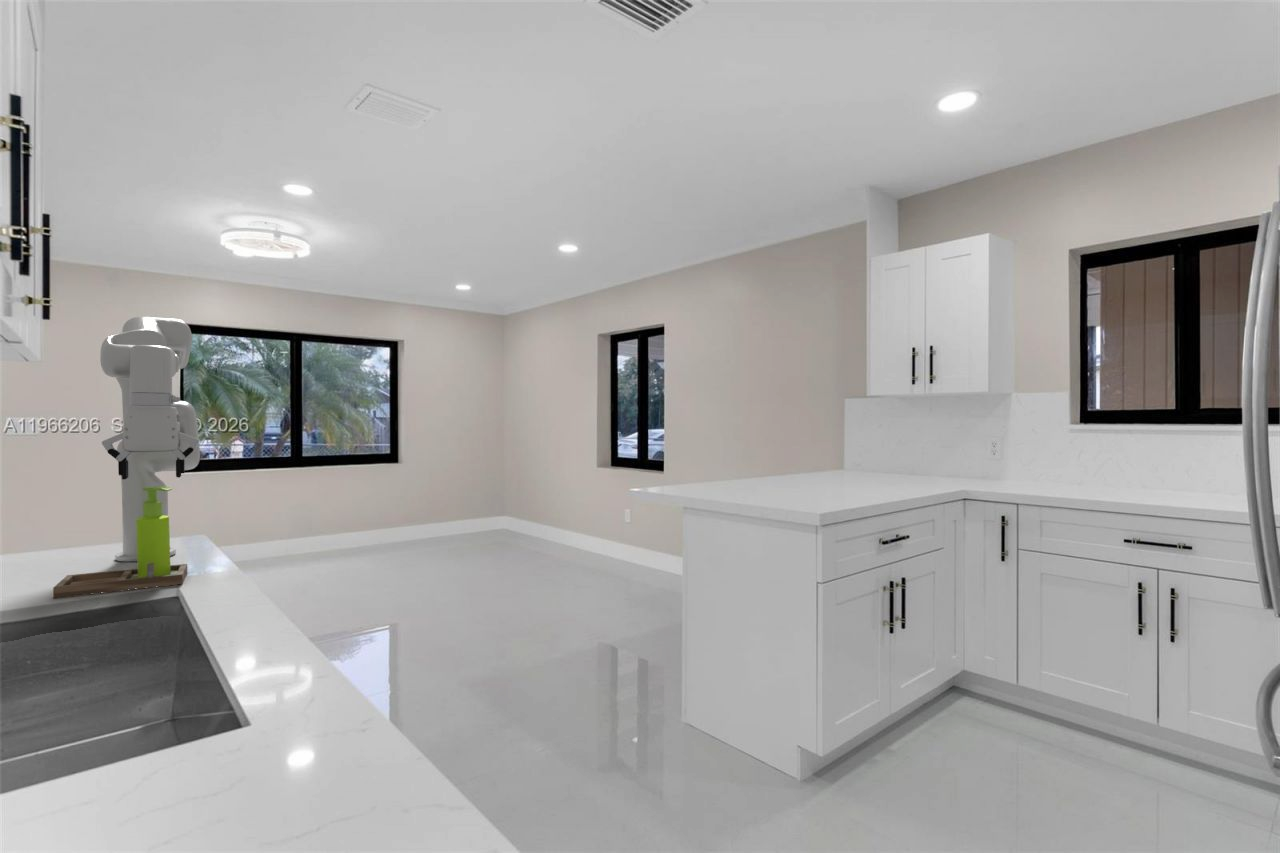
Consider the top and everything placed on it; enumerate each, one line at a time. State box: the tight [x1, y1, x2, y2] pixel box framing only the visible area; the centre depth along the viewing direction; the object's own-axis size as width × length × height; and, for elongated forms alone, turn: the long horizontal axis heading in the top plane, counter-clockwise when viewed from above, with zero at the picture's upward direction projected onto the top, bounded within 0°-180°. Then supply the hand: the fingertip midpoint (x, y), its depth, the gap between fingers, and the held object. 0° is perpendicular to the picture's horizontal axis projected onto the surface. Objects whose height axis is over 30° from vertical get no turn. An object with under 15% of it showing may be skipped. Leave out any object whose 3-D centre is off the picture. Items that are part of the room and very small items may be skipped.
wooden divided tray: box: [52, 563, 188, 599], centre depth 143 cm, size 11×22×5 cm, turn 121°
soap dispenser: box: [136, 486, 173, 578], centre depth 146 cm, size 6×7×20 cm
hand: (152, 477), depth 145 cm, fingers open, 9 cm apart
